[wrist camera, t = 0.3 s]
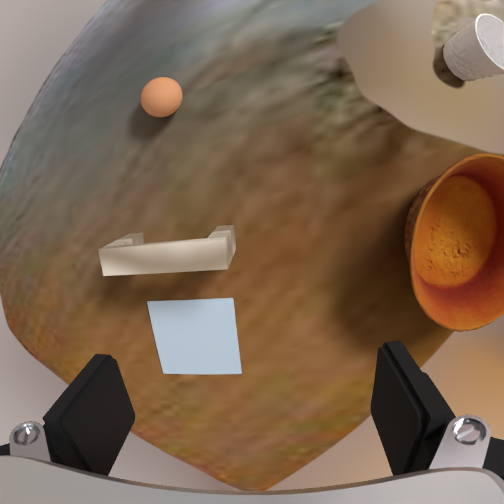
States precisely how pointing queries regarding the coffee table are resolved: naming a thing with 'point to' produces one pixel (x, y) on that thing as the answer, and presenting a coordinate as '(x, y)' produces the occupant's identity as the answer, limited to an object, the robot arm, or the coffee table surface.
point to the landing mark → (196, 336)
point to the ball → (161, 97)
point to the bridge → (168, 254)
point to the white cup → (476, 49)
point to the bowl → (459, 244)
